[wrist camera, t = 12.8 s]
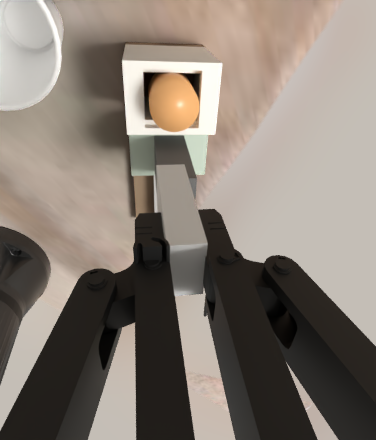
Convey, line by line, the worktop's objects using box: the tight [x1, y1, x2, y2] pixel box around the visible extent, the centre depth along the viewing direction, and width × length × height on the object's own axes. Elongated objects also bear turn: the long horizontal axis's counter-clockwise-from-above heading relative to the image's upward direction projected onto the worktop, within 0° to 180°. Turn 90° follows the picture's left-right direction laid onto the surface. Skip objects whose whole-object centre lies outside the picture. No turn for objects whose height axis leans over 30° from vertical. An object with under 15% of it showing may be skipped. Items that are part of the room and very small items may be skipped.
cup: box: [0, 0, 64, 111], centre depth 26 cm, size 10×10×11 cm
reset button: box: [148, 72, 199, 132], centre depth 27 cm, size 4×4×5 cm
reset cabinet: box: [122, 44, 222, 135], centre depth 30 cm, size 8×6×8 cm
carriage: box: [129, 135, 208, 198], centre depth 31 cm, size 8×5×13 cm, turn 87°
